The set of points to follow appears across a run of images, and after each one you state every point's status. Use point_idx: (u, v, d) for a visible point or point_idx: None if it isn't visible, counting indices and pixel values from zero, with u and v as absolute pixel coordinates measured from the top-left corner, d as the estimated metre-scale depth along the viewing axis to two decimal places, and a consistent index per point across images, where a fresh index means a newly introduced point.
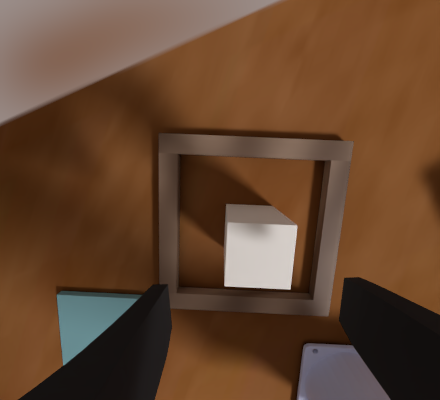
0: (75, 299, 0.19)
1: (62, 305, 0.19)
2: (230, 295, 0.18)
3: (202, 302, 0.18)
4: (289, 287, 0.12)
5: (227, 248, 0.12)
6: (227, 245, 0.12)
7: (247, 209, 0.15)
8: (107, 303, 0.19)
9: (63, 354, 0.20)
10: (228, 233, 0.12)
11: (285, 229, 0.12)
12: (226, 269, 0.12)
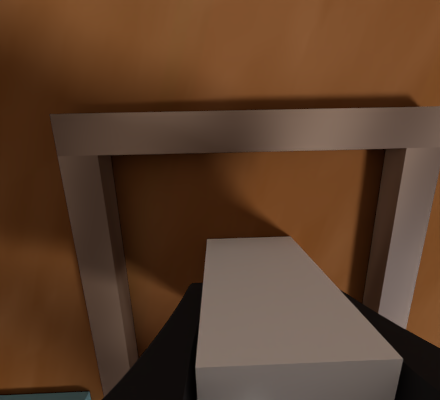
0: None
1: None
2: None
3: None
4: None
5: None
6: None
7: (247, 260, 0.08)
8: None
9: None
10: (201, 393, 0.04)
11: (366, 372, 0.04)
12: None
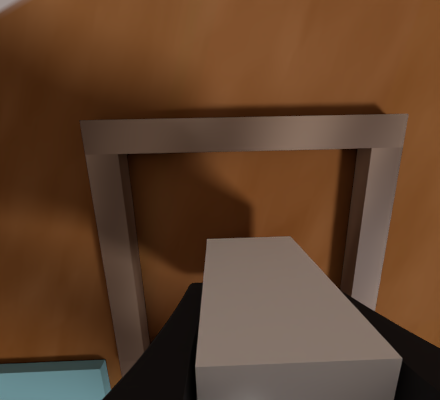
0: None
1: None
2: None
3: None
4: None
5: None
6: None
7: (247, 260, 0.08)
8: (47, 379, 0.13)
9: None
10: (201, 392, 0.04)
11: (366, 370, 0.04)
12: None
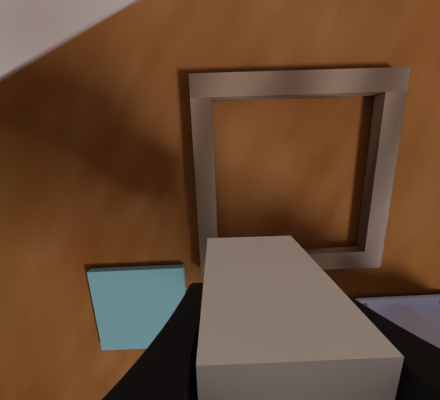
0: (107, 275, 0.17)
1: (94, 283, 0.17)
2: None
3: None
4: None
5: None
6: None
7: (247, 259, 0.08)
8: (143, 276, 0.17)
9: (100, 334, 0.18)
10: (202, 391, 0.04)
11: (367, 369, 0.04)
12: None
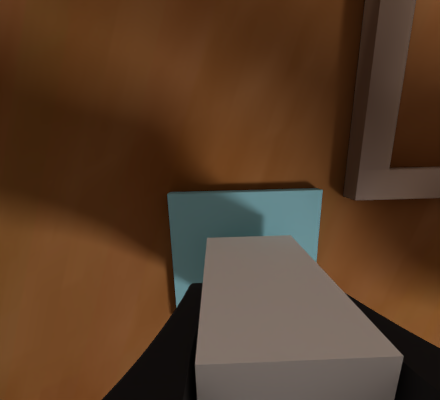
0: (200, 200, 0.10)
1: (177, 213, 0.11)
2: None
3: (432, 183, 0.10)
4: None
5: None
6: None
7: (247, 258, 0.08)
8: (257, 203, 0.11)
9: (178, 300, 0.12)
10: (201, 391, 0.04)
11: (367, 368, 0.04)
12: None
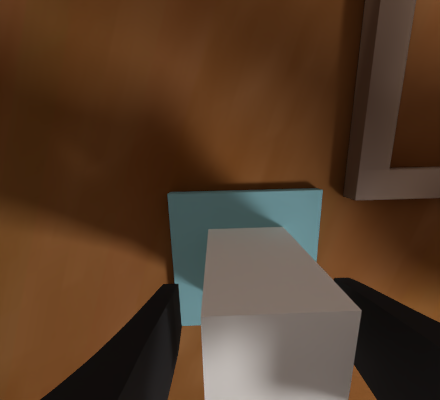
0: (201, 200, 0.10)
1: (177, 213, 0.11)
2: None
3: (432, 183, 0.10)
4: None
5: (205, 367, 0.05)
6: (205, 362, 0.05)
7: (243, 245, 0.09)
8: (257, 203, 0.11)
9: None
10: (205, 338, 0.05)
11: (334, 320, 0.05)
12: None
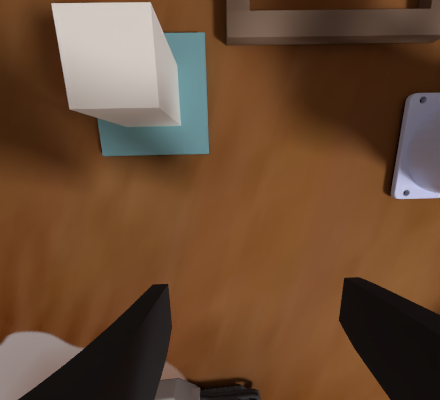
0: None
1: None
2: None
3: (284, 23, 0.13)
4: (157, 104, 0.09)
5: (60, 47, 0.09)
6: (59, 43, 0.09)
7: None
8: None
9: (101, 132, 0.15)
10: (57, 23, 0.08)
11: (134, 10, 0.08)
12: (66, 81, 0.09)
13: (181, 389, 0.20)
